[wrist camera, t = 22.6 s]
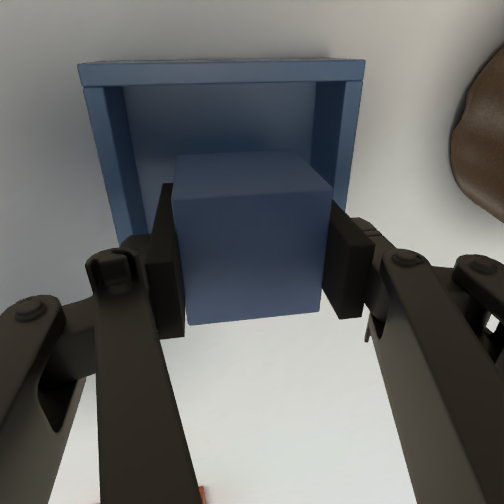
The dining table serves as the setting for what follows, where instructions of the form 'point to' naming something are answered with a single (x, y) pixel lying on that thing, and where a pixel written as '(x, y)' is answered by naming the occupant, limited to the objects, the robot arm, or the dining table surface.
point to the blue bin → (215, 120)
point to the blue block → (250, 234)
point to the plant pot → (482, 140)
